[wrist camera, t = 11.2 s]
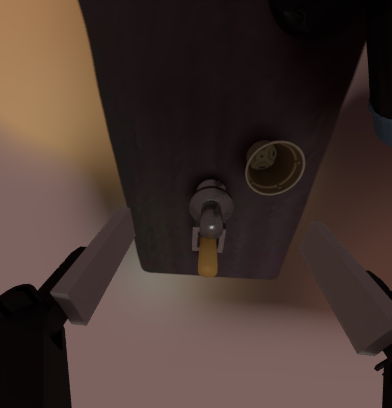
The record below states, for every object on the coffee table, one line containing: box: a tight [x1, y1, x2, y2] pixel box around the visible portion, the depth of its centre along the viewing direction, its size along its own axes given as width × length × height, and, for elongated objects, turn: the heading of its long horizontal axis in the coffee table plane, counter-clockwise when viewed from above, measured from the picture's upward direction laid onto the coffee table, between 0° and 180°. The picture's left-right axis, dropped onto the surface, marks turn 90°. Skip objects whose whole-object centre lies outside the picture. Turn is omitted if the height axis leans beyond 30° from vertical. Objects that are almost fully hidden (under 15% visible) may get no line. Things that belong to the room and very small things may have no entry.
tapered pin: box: [198, 235, 217, 277], centre depth 38 cm, size 4×4×14 cm
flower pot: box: [245, 140, 305, 195], centre depth 33 cm, size 9×9×9 cm
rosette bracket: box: [189, 178, 234, 275], centre depth 40 cm, size 26×9×14 cm, turn 178°
